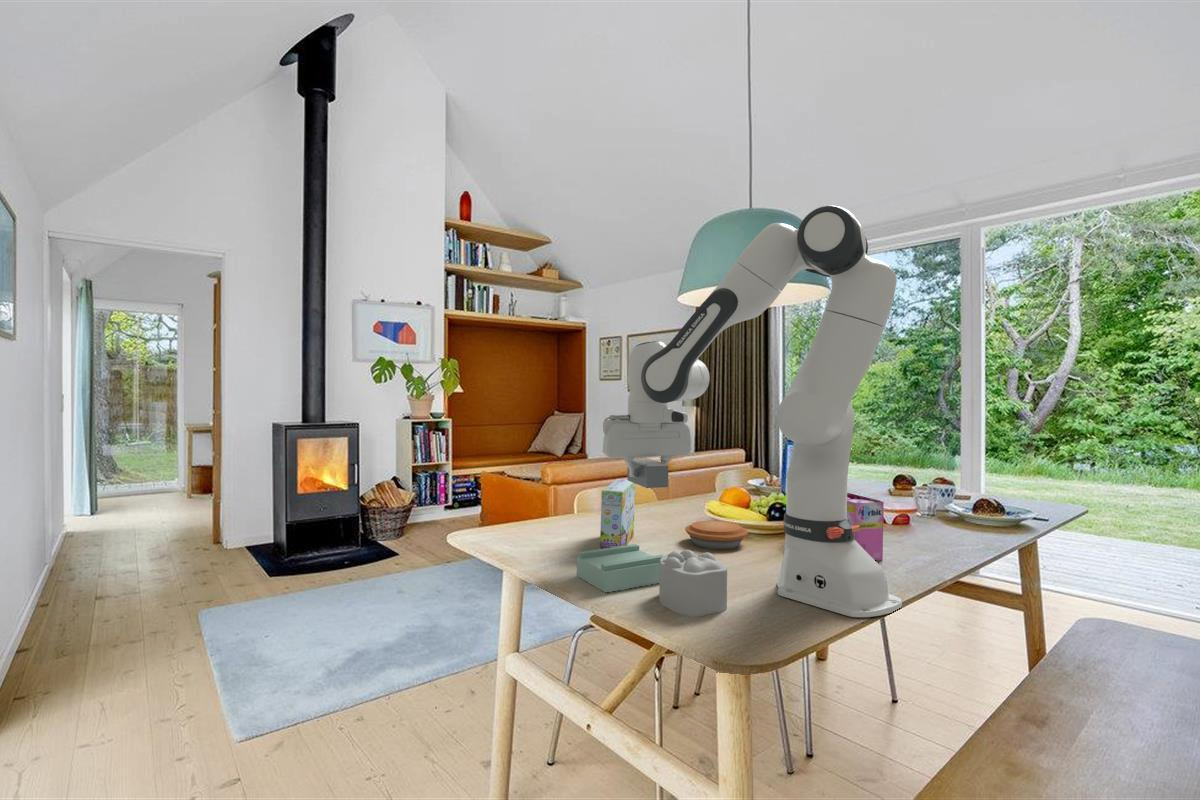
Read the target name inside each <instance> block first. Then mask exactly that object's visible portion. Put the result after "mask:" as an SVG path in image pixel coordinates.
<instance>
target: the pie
mask: <svg viewBox="0 0 1200 800" xmlns="http://www.w3.org/2000/svg"><path fill="white" fill-rule="evenodd" d="M684 530H685V532H686V533H687V535H689V538H690V540H691V541H692V543H693V545H695V546H697V547H700V548H704V549H709V548H710V550H711V549H712V550H730V549H729V548H731V549H735V548H737V547H739V546H740V545H741V542H742V541H743V539H744V538H745V537H746V536H747V535H748V534H749V531H748V530H747V529H746V528H745V527H743V526H742V525H740V524H738V523H734V522H729V521H724V520H701V521H696V522H692V523H691V524H689V525H687V526H685V528H684Z"/></svg>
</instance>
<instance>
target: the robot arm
mask: <svg viewBox="0 0 1200 800" xmlns="http://www.w3.org/2000/svg"><path fill="white" fill-rule="evenodd" d="M868 251H869V245H868V240H867V237H866V235H865V230H864V228H863V226H862V225H861V223H860V222H859V221H858V219H857V218H856V217H855V215H854V214H853V213H852V212H851V211H849V210H848V209H847V208H844V207H842V206H838V205H823V206H819V207H817V208H815V209H814V210H811V212H808V214H807V215H805V217H804V218H803V219H802V221H801V222H800V224H799V226H798V228H795V227H793V226H792V225H790V224H787V223H784V222H773V223H770V224H768V225H767V226H766V227H764V228H763V229H762V230H761V231H760V232H759V233H758V234H757V235H756V236H755V237H754V238H753V239H752V240H751V242H750V243H749V244H748V245H747V246H746V247H745V248H744V249H743V251H742V252H741V253H740V255H739V256H738V257H737V259H736V260H735V262H734V263H733V265H731V267H730V268H729V270H728V272H726V275H724V277H723V278H722V280H721V281H720V282H719V283H718V285H717V286H716V287H715V289H714V290H713V291H712V292H711V293H710V294H709V296H708V297H707V298H706V299H705V300H704V301H703V302H702V303H701V304H700V306H698V308H697V309H696V310H695V311H694V313H693V314H692V315H691V316H690V318H689V319H688V320H687V321H686V323H685V324H684V325H683V326H682V327H681V329H680V330H679V331H678V332H677V333H676V335H674V337H673V338H672V340H671V341H670V342H669V343H668V344H666V343H665V342H663V341H659V340H658V341H657V340H656V341H655V340H654V341H645V342H642V343H639V344H636V345H635V346H634V347H632V348H631V351H630V352H629V353H630V354H629V359H628V367H627V368H628V370H627V371H628V373H627V384H628V387H629V394H628V395H629V396H628V398H627V414H619V415H617V414H612V415H609V416H608V417H606V418H605V419H604V420H603V422H602V423H603V424H602V427H603V428H602V430H603V433H604V435H603V440H602V441H603V442H602V453H603V454H604V456H605V457H607V458H624V462H625V464H626V467H627V468H629V476H630V477H638V469H636V468H634V467H633V465H632V463H631V462H633V461H634V459H635V458H637V457H638V458H639V457H640V458H641V457H659V458H660V460H661V462H662V463H665V464H667V466H669V463H670V460H671V457H673V456H688V455H689V454H690V453H691V450H692V436H691V435H692V434H691V430H690V426H689V425H688V424H687V422H688V420H689V416H688V414H687V413H686V412H682V411H679V410H677V409H674V408H671V407H668V403H673V402H676V401H677V402H678V401H679V402H681V401H692V400H695V399H697V398H700V397H701V396H703V395H704V394H705V393H706V392H707V390H708V388H709V386H710V383H711V382H710V381H711V375H710V370H709V368H708V367H707V365H706V363H704V361H702V360H700V357H701V356H702V355H703V353H705V351H706V350H707V348H708V347H709V346H710V345H711V344H712V343H713V341H714V340H715V339H716V338H717V337H718V336H719V334H721V333H722V332H724V330H726V329H728V328H729V327H731V326H734V325H736V324H738V323H742V322H745V321H749V320H753V319H756V318H758V317H759V316H760V315H762V314H763V313H764V312H765V311H766V310H767V309H768V308H769V307H771V305H772V304H773V303H774V302H775V300H777V298H778V297H779V295H780V294H781V293H782V291H783V290H784V289H785V288H786V286H787V285H788V284H789V282H790V281H791V280H792V279H793V277H794V276H795V275H797V274H798V273H799V272H801V271H803V270H805V271H806V272H807V273H808V272H809V273H813V274H815V275H820V276H823V277H826V278H830V279H831V290H830V294H829V297H828V300H827V302H826V305H825V308H824V310H823V312H822V314H821V315H822V316H821V318H820V321H819V324H818V326H817V329H816V332H815V335H814V338H813V339H812V342H811V345H810V348H809V350H808V352H807V355H806V356H805V358H804V360H803V362H802V363H801V365H800V367H799V368H798V371H797V373H796V375H795V377H794V378H793V381H792V383H791V385H790V386H789V388H788V390H787V392H786V395H785V396H784V398H783V399H782V400H781V402H780V403H779V406H778V408H777V411H776V422H777V427H778V428H779V431H780V432H781V433H782V435H783V436H785V437H786V438H787V439H788V440H789V441H792V442H793V445H792V449H791V450H792V451H791V456H790V460H789V461H790V462H789V466H788V468H787V470H786V471H787V472H786V504H785V510H786V511H785V513H783V521H782V524H783V532H784V534H785V537H784V539H785V540H784V547H783V552H782V553H783V555H782V558H781V565H780V566H781V567H780V570H779V575H778V578H777V581H776V586H777V588H778V589H777V595H778V596H780V597H783V598H787V599H791V600H793V601H797V602H800V603H803V604H807V605H810V606H814V607H817V608H819V609H820V608H821V609H824V610H827V611H830V612H834V613H837V614H839V615H840V614H841V615H844V616H847V617H850V618H871V617H879V616H884V615H888V614H890V613H894V612H896V611H898V610H900V609H901V608H902V607H903V601H902V600H903V599H902V598H900V597H899V596H896V595H893V594H891V593H890V592H889V587H888V585H889V584H888V578H887V575H886V572H885V570H884V568H883V566H882V565H880V564H879V562H878V561H875V560H874V559H873V558H872V557H871V556H870V555H869V554H868V553H867V552H866V551H865V550H864V549H863V548H862V547H861V546H860V545H859V544H858V543H857V542H856V541H855V535H854V532H857V531H860V530H855V529H856V528H858V527H860V526H859V525H856V526H851V523H850V521H849V518H848V517H847V493H848V475H849V467H850V466H849V465H850V458H851V450H852V444H853V443H852V441H853V432H854V431H853V429H854V418H855V411H854V407H853V404H852V403H851V402H852V400H853V398H854V396H855V394H856V392H857V390H858V388H859V386H860V384H861V382H862V380H863V379H864V377H865V375H866V374H867V372H868V370H869V369H870V366H871V363H872V361H873V358H874V356H875V353H876V350H877V348H878V346H879V343H880V340H881V337H882V336H883V332H884V330H885V327H886V325H887V322H888V319H889V315H890V313H891V310H892V306H893V302H894V299H895V298H894V297H895V295H896V294H895V293H896V287H897V283H898V282H897V275H896V272H895V270H894V269H893V268H892V267H891V266H889V265H888V264H887V263H885V262H884V261H881V260H878V259H874V258H871V257H869V256H868ZM670 456H671V457H670ZM634 457H635V458H634ZM899 608H900V609H899ZM897 609H898V610H897ZM895 610H896V611H895ZM893 611H894V612H893Z"/></svg>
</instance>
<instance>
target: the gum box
mask: <svg viewBox="0 0 1200 800" xmlns="http://www.w3.org/2000/svg"><path fill="white" fill-rule="evenodd" d="M884 503H885V502H884V501H882V500H880V499H875V498H870V497H866V496H864V495H863V496H862V495H858V494H855V493H851V492H847V517H848V518H849V521H850V523H851V526H856V525H859V526H860V527H858V528H856V529H855V530H860V531H857V532H854V535H855V541H856V542H857V543H858V544H859V545H860V546H861V547H862V548H863V549H864V550H865V551H866V552H867V553H868V554H869V555H870V556H871V557H872V558H873V559H874V560H880V561H883V560H884V559H883V558H884V556H883V554H884V553H883V552H884V514H885V513H884V509H885V508H884Z"/></svg>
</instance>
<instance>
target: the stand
mask: <svg viewBox="0 0 1200 800" xmlns="http://www.w3.org/2000/svg"><path fill="white" fill-rule="evenodd" d="M663 556H664V555H663V554H657V555H656V554H655V555H651V554H649V553H647V552H645V551H642V550H640V545H639V544H636V543H633V544H627V545H625V546H618V547H611V548H604V549H600V548H599V549H592V550H585V551H584V550H583V551H578V552H577V556H576V577H577V578H579V577H580V578H579V579H581V578H582V579H581V580H583V581H584V580H585V582H586V581H587V583H588V584H590V585H591V584H592V585H591V586H593V585H594V586H593V587H595V588H596V587H597V589H598V588H599V589H598V590H599V591H601V590H602V591H601V592H603V591H604V593H605V592H606V593H605V594H608V593H607V592H610V593H613V592H612V591H616V592H618V591H617V590H621V591H624V590H623V589H627V590H629V589H628V588H632V589H634V588H633V587H637V588H640V587H639V586H643V587H646V586H645V585H648V586H652V585H651V584H653V585H657V584H656V583H659V580H660V559H661V558H662V557H663Z"/></svg>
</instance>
